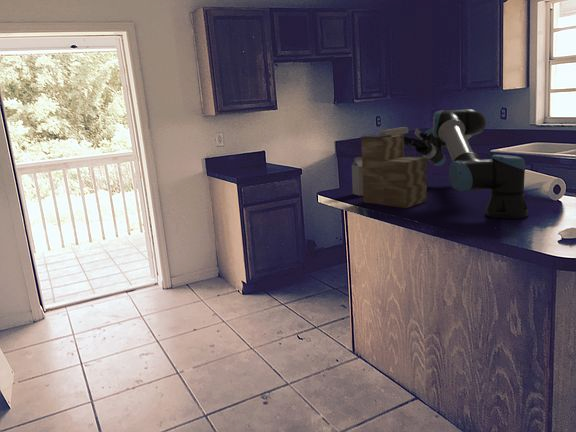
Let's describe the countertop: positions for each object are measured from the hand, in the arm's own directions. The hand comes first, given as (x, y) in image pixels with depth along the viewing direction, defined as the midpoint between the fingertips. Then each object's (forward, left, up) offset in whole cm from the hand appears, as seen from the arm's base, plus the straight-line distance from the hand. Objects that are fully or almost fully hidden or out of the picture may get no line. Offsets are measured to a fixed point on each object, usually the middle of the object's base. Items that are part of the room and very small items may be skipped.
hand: (403, 131), depth 240 cm
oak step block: (-15, +10, -31) cm, 36 cm away
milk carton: (+8, +19, -31) cm, 38 cm away
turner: (-8, +10, -1) cm, 13 cm away
